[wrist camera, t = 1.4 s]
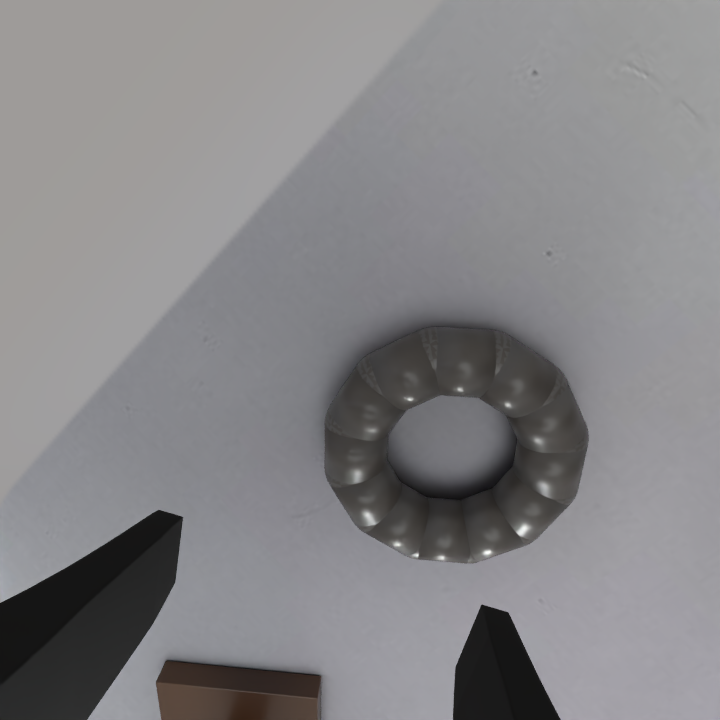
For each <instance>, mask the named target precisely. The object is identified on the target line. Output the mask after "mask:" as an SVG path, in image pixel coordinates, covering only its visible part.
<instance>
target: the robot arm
mask: <svg viewBox="0 0 720 720" xmlns="http://www.w3.org/2000/svg"><path fill="white" fill-rule="evenodd" d="M182 521H183V517H181V516H178V515H174V514H171V513H168V512H164V511H161V510H158V511H156V512H154V513H152V514H151V515H149V516H148V517H146V518H145V519H143V520H142V521H140V522H139V523H137V524H135V525H134V526H132V527H131V528H129V529H128V530H126V531H125V532H123V533H122V534H120V535H119V536H117V537H115V538H114V539H112V540H111V541H109V542H108V543H106V544H104V545H103V546H101V547H100V548H98V549H96V550H95V551H93V552H91V553H90V554H88V555H87V556H85V557H83V558H82V559H80V560H78V561H77V562H75V563H73V564H72V565H70V566H68V567H67V568H65V569H63V570H61V571H59V572H58V573H56V574H54V575H52V576H50V577H49V578H47V579H45V580H43V581H41V582H40V583H38V584H36V585H34V586H33V587H31V588H29V589H27V590H25V591H23V592H21V593H19V594H17V595H15V596H13V597H11V598H9V599H7V600H5V601H3V602H1V603H0V720H87V719H88V718H89V716H90V715H91V713H92V712H93V710H94V709H95V707H96V706H97V704H98V703H99V702H100V700H101V699H102V697H103V696H104V694H105V693H106V691H107V690H108V689H109V687H110V686H111V684H112V683H113V681H114V680H115V678H116V677H117V676H118V674H119V673H120V671H121V670H122V668H123V667H124V665H125V664H126V663H127V661H128V660H129V658H130V657H131V655H132V654H133V652H134V651H135V649H136V648H137V646H138V645H139V644H140V642H141V641H142V639H143V638H144V636H145V635H146V633H147V632H148V630H149V629H150V627H151V626H152V624H153V623H154V621H155V619H156V617H157V615H158V614H159V612H160V610H161V608H162V606H163V604H164V603H165V601H166V599H167V597H168V595H169V593H170V591H171V589H172V587H173V585H174V584H175V580H176V571H177V563H178V555H179V546H180V538H181V529H182ZM453 720H560V718H559V716H558V714H557V712H556V710H555V708H554V706H553V704H552V702H551V700H550V698H549V696H548V695H547V693H546V691H545V689H544V687H543V685H542V683H541V681H540V679H539V677H538V675H537V673H536V670H535V668H534V666H533V664H532V662H531V660H530V658H529V656H528V654H527V651H526V649H525V647H524V645H523V643H522V641H521V638H520V636H519V634H518V632H517V630H516V628H515V625H514V623H513V621H512V619H511V617H510V615H509V613H508V612H505V611H502V610H498V609H495V608H491V607H488V606H485V605H481V607H480V610H479V612H478V615H477V617H476V619H475V622H474V624H473V627H472V629H471V631H470V634H469V636H468V639H467V641H466V643H465V646H464V648H463V651H462V653H461V655H460V658H459V660H458V663H457V665H456V670H455V687H454V708H453Z"/></svg>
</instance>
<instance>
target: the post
mask: <svg viewBox="0 0 720 720" xmlns="http://www.w3.org/2000/svg"><path fill="white" fill-rule="evenodd" d="M156 686H157V693H158V700H159V707H160V713H161V720H321V676H315V675H305V674H295V673H284V672H274V671H264V670H254V669H244V668H233V667H223V666H213V665H203V664H192V663H182V662H172V661H166V662H165V664H164V666H163V668H162V671H161V673H160V675H159V677H158V679H157V681H156Z"/></svg>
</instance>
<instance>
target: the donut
mask: <svg viewBox="0 0 720 720" xmlns="http://www.w3.org/2000/svg"><path fill="white" fill-rule="evenodd" d="M440 395H444V396H460V397H476V398H480V399H481V400H483V401H484V402H486V403H488V404H489V405H491V406H492V407H494V408H496V409H497V410H499V411H500V412H502V413H504V414H505V415H506V416H507V418H508V420H509V422H510V424H511V427H512V429H513V431H514V433H515V435H516V437H517V445H516V451H515V457H514V463H513V466H512V467H511V468H510V469H509V470H508V471H507V472H506V474H505V475H504V476H503V477H502V478H501V479H500V480H499V482H498V483H497V484H496V485H495V486H494V487H493V488H491V489H489V490H486V491H483V492H481V493H478V494H475V495H473V496H470V497H468V498H465V499H462V500H455V499H441V498H428V497H425V496H423V495H422V494H420V493H418V492H417V491H415V490H413V489H412V488H410V487H408V486H406V485H405V484H403V483H401V482H400V481H399V479H398V477H397V476H396V474H395V472H394V471H393V469H392V467H391V465H390V464H389V462H388V460H387V450H388V434H389V433H390V431H391V430H392V429H393V427H394V426H395V425H396V423H397V422H398V421H399V419H400V418H401V417H402V415H403V414H404V413H405V411H406V410H408V409H410V408H412V407H414V406H417V405H419V404H421V403H424V402H426V401H428V400H430V399H433V398H435V397H437V396H440ZM588 441H589V435H588V429H587V426H586V423H585V421H584V419H583V416H582V414H581V412H580V409H579V407H578V405H577V402H576V400H575V398H574V395H573V393H572V391H571V388H570V386H569V384H568V381H567V379H566V378H565V376H564V374H563V373H562V372H561V370H560V369H559V368H557V367H556V366H555V365H554V364H552V363H551V362H549V361H548V360H546V359H544V358H543V357H541V356H540V355H538V354H537V353H535V352H534V351H532V350H531V349H529V348H528V347H526V346H524V345H523V344H521V343H520V342H518V341H517V340H515V339H514V338H512V337H511V336H509V335H507V334H505V333H503V332H500V331H496V330H485V329H467V328H449V327H428V328H424V329H421V330H418V331H416V332H414V333H412V334H410V335H408V336H406V337H403V338H401V339H399V340H397V341H395V342H393V343H391V344H389V345H387V346H384V347H382V348H380V349H378V350H376V351H374V352H372V353H370V354H368V355H367V356H365V357H364V358H363V359H362V360H361V361H360V362H359V363H358V364H357V366H356V367H355V369H354V370H353V372H352V373H351V375H350V376H349V378H348V379H347V381H346V382H345V384H344V385H343V387H342V388H341V390H340V391H339V392H338V394H337V395H336V397H335V398H334V400H333V401H332V403H331V404H330V406H329V408H328V410H327V413H326V417H325V460H324V468H325V475H326V478H327V481H328V482H329V484H330V486H331V488H332V489H333V491H334V492H335V494H336V495H337V497H338V499H339V500H340V502H341V503H342V505H343V507H344V508H345V510H346V511H347V513H348V515H349V516H350V518H351V519H352V521H353V522H354V524H355V525H356V526H357V527H358V528H359V529H360V530H361V531H363V532H364V533H366V534H368V535H370V536H371V537H373V538H375V539H377V540H378V541H380V542H382V543H384V544H385V545H387V546H389V547H391V548H393V549H394V550H396V551H398V552H400V553H401V554H403V555H405V556H407V557H410V558H413V559H419V560H431V561H443V562H455V563H477V562H480V561H483V560H486V559H488V558H491V557H494V556H497V555H500V554H503V553H506V552H509V551H511V550H514V549H517V548H520V547H523V546H526V545H528V544H530V543H532V542H533V541H534V540H536V539H537V538H538V537H539V536H540V535H541V534H542V533H543V532H544V531H545V530H546V529H547V528H548V526H549V525H550V524H551V523H552V522H553V521H554V520H555V519H556V518H557V517H558V516H559V515H560V514H561V513H562V512H563V511H564V510H565V509H566V508H567V507H568V506H569V505H570V504H571V503H572V501H573V500H574V499H575V497H576V494H577V491H578V488H579V483H580V479H581V474H582V469H583V465H584V460H585V456H586V451H587V447H588Z"/></svg>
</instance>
